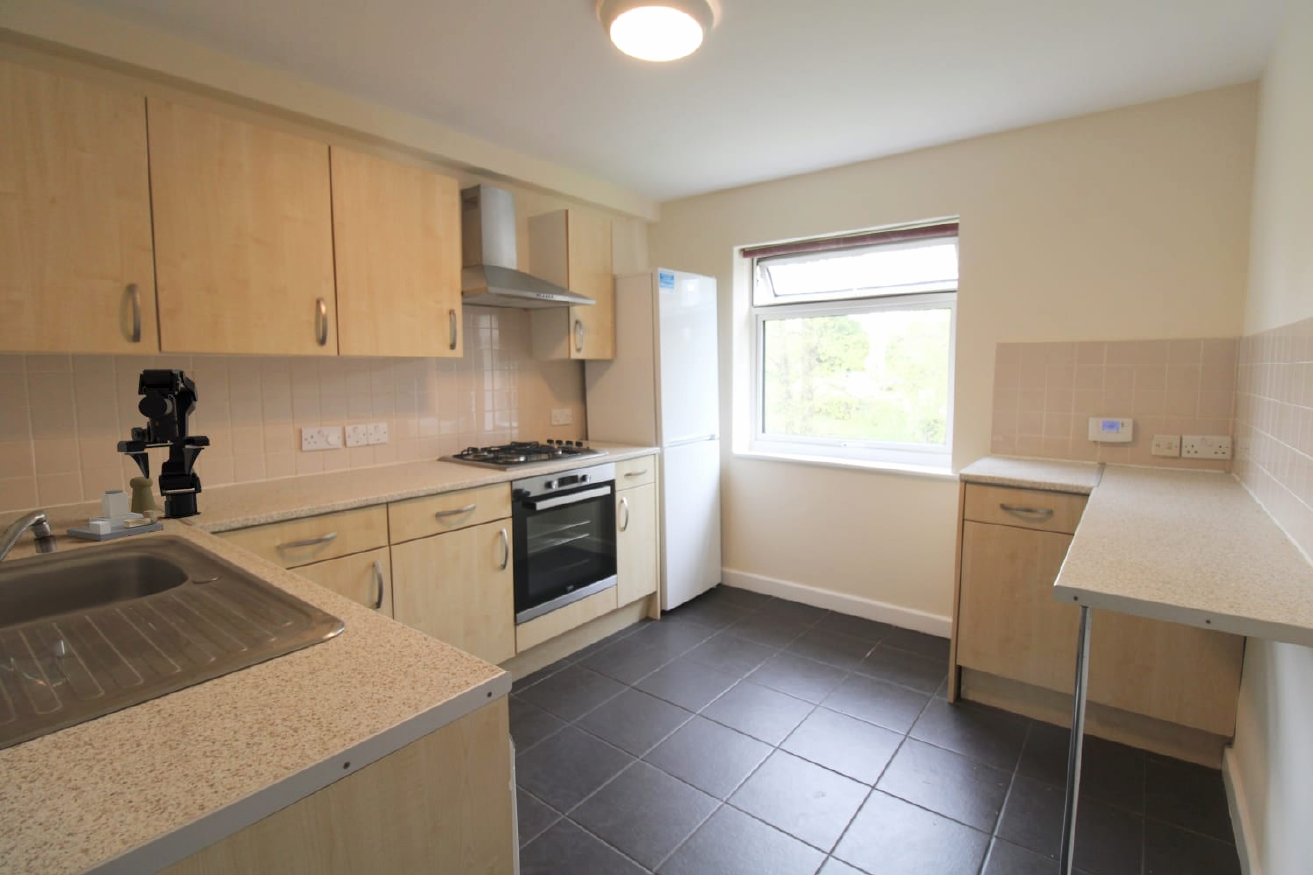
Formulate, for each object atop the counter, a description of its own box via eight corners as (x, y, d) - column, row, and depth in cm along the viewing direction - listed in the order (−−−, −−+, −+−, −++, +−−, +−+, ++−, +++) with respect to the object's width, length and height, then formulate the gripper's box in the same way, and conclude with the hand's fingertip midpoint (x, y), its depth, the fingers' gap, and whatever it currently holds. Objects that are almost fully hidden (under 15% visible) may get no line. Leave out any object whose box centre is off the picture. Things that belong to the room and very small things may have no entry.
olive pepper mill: (148, 511, 187) (144, 475, 186) (162, 512, 185) (159, 475, 184) (125, 515, 181) (122, 478, 180) (140, 516, 179) (136, 478, 178)
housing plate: (128, 524, 169) (127, 509, 168) (163, 529, 161) (162, 514, 161) (66, 534, 157) (65, 519, 157) (101, 541, 149) (99, 524, 149)
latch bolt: (151, 521, 162) (150, 510, 162) (157, 522, 161) (156, 510, 161) (123, 526, 157) (122, 514, 157) (129, 527, 156) (128, 515, 155)
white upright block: (122, 521, 165) (119, 488, 164) (130, 522, 163) (127, 489, 163) (103, 524, 162) (100, 491, 161) (111, 525, 160) (108, 492, 159)
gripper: (187, 415, 176) (191, 470, 177) (104, 418, 160) (109, 479, 161) (208, 415, 171) (213, 472, 172) (125, 419, 154) (130, 482, 156)
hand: (167, 476), depth 165 cm, fingers open, 9 cm apart
